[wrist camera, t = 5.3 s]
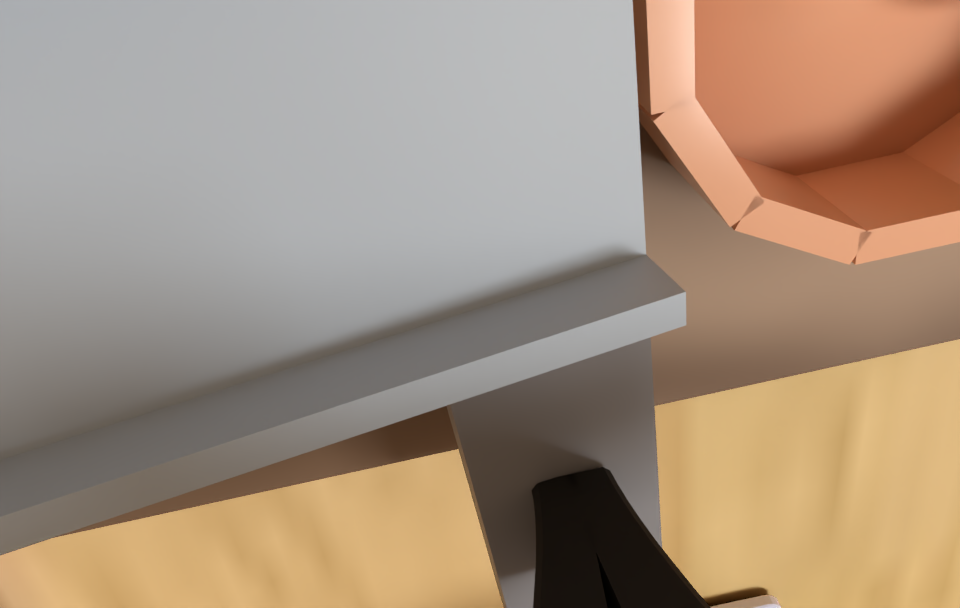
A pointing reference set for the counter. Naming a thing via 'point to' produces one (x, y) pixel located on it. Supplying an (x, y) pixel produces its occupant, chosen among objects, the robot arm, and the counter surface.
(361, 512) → the counter surface
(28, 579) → the counter surface
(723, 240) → the base
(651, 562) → the robot arm
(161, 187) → the lever
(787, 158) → the orange bowl
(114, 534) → the counter surface
